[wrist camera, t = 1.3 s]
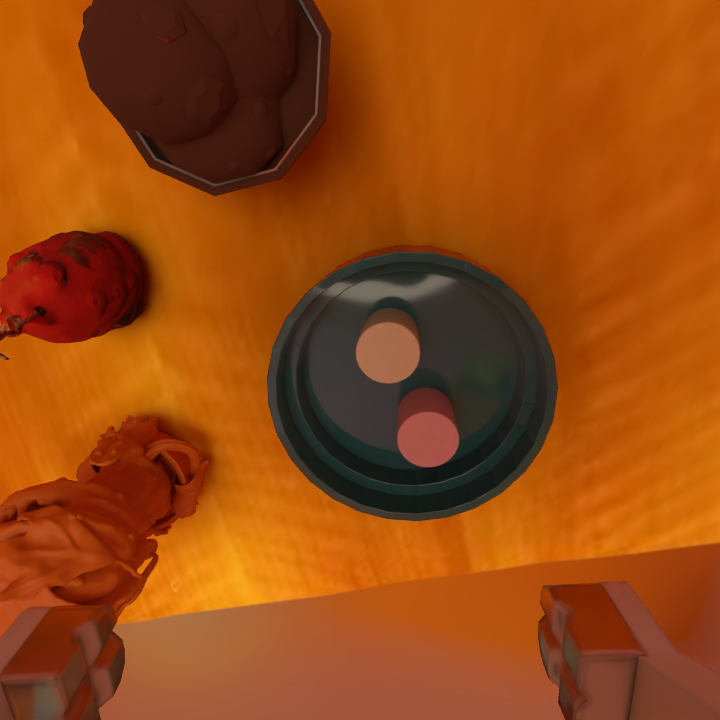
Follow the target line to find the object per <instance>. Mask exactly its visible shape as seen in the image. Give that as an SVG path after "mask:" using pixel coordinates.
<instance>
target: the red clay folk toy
mask: <svg viewBox="0 0 720 720" xmlns="http://www.w3.org/2000/svg"><path fill="white" fill-rule="evenodd" d="M7 267H8V268H7V276H5V277H4V278H3V279H1V280H0V307H1V308H2V312H1V313H0V320H1V322H2V324H3V325H2V326H1V327H0V340H2V339H3V338H4V337H6V336H7V337H16V336H18V335H20V334H21V333H26V334H29V335H31V336H34V337H37V338H40V339H43V340H45V341H48V342H53V343H73V342H81V341H85V340H88V339H90V338H92V337H98V336H101V335H103V334H106V333H107V332H109V331H110V330H114V329H118V328H122V327H125V326H127V325H130V324H131V323H132V322H133V321H134V320H135V319H136V318H137V317H138V316H139V315H140V314H142V312H143V309H144V306H145V303H144V301H143V292H144V274H143V271H142V267H141V263H140V261H139V258H138V256H137V255H136V253H135V252H134V251H133V250H131V249H130V248H129V247H128V245H127V244H126V243H125V241H124V240H123V239H122V238H121V237H120V236H118V235H116V234H115V233H111V232H108V231H104V232H101V233H96V234H93V233H86V232H83V231H71V232H68V233H59V234H56V235H54V236H52V237H50V238H49V239H47V240H45V241H42V242H40V243H37V244H35V245H33V246H30V247H28V248H26V249H24V250H23V251H21V252H19V253H15V254H13V255H12V256H10V258H9V261H8V262H7ZM0 357H1V358H3V359H5V360H8V359H10V358H7V357H6V356H4V355H3V354H1V353H0Z"/></svg>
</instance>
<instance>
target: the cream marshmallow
mask: <svg viewBox="0 0 720 720" xmlns="http://www.w3.org/2000/svg"><path fill="white" fill-rule="evenodd" d="M356 359H357V362H358V365H359V367H360V368H361V370H362V371H363V372H364V373H365V374H366V375H367V376H368V377H369V378H371V379H372V380H375V381H377V382H380V383H396V382H400V381H402V380H404V379H406V378H407V377H409V376H410V375H411V374H412V373H413V372H414V370H415V369H416V367H417V365H418V363H419V359H420V344H419V331H418V327H417V325H416V323H415V321H414V319H413V318H412V317H411V316H410V315H409V314H408V313H406V312H404V311H402V310H400V309H397V308H384V309H380V310H378V311H376V312H374V313H373V314H371V315H370V316H369V317H368V319H367V320H366V322H365V323H364V326H363V328H362V331H361V334H360V337H359V339H358V342H357V346H356Z"/></svg>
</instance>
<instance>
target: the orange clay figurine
mask: <svg viewBox="0 0 720 720" xmlns="http://www.w3.org/2000/svg"><path fill="white" fill-rule="evenodd" d="M149 418H150V419H151V420H147V421H144V422H140V421H139V422H137V417H136V418H134V417H132V416H130V415H129V416H128V417H127V419H126V422H123V423H122V428H121V430H120V432H119V433H117V432H116V431H114V430H115V429H114V427H113V426H111V427H110V428H109V429H108V430H107V432H106V433H105V434H103V435H100V437H101V438H102V440H100V441H98V443H97V445H98V446H97V447H96V448H95V449H94V450H93V451H92V452H91V454H90V455H89V457H88V458H87V459H86V460H85V461H84V462H83V463H81V465H80V466H79V467H78V469H77V478H78V480H79V481H80V482H78V481H72V480H67V478H65V477H62V478H60V479H58V480H55V481H52V482H48V483H44V484H40V485H36V486H32V487H28V488H26V489H23V490H20V491H17V492H15V493H13V494H12V495H11V496H9V497H8V498H7V499H6V500H5V502H4V503H3V504H2V505H1V506H0V637H1V636H2V635H3V634H4V633H5V631H6V630H7V629H8V628H9V627H10V625H11V624H12V623H13V622H14V621H15V619H16V618H17V617H18V616H19V615H20V613H21V612H22V611H24V610H26V609H28V608H30V607H56V606H73V605H108V606H111V607H113V608H114V611H115V615H116V618H117V619H118V617H119V615H120V614H121V613H122V611H123V610H124V608H125V607H126V606H128V605H130V604H131V603H133V602H134V601H135V600H136V598H137V597H138V596H139V594H140V593H141V591H142V589H143V587H144V585H145V583H146V580H147V578H148V576H149V575H150V573H151V572H152V570H153V569H154V567H155V565H156V564H157V562H158V555H157V554H156V553H155V552H156V550H157V547H158V543H157V541H156V540H155V539H147V540H146V537H149V536H151V535H152V534H154V535H155V536H159V535H162V534H163V535H165V534H167V533H168V530H169V529H170V528H171V525H170V524H172V523H173V522H174V521H176V520H177V519H178V518H181V519H182V518H184V517H189V516H192V515H193V514H194V513H195V511H196V505H198V502H197V494H198V492H199V491H200V489H201V486H202V483H203V473H204V471H205V470H206V469H207V465H208V463H209V461H210V460H205V461H203V462H201V463H200V460H202V459H203V458H201V457H200V454H199V452H198V450H197V448H196V447H195V446H194V445H192V444H191V443H189V442H186V441H183V440H178V439H176V438H175V437H173V436H171V435H169V434H167V433H164V432H161V431H157V425H158V424H159V421H158V420H156V419H155V418H154V417H149ZM161 528H162V529H161ZM151 557H153V559H152V561H151V562H150V563H149V565H148V566H147V567H146V569H145V570H144V572H143V573H142V574H138V573H137V569H138V568H139V567H140V566H141V565H142V564H143V562H144V560H147V559H149V558H151ZM138 578H139V579H138Z"/></svg>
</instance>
